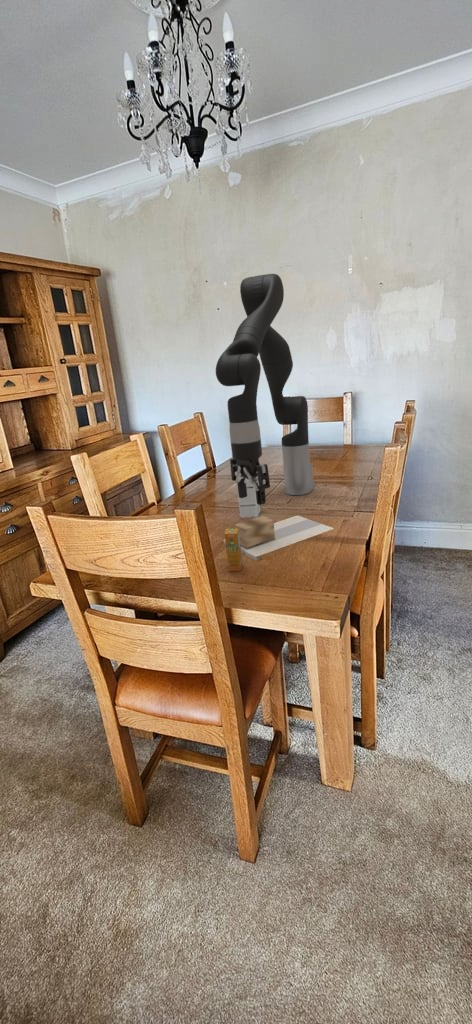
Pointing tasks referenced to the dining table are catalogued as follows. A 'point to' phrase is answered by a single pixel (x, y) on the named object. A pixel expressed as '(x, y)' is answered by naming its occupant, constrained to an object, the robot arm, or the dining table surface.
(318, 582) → the dining table surface
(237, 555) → the supplement box
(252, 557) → the board
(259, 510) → the syrup box
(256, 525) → the block
